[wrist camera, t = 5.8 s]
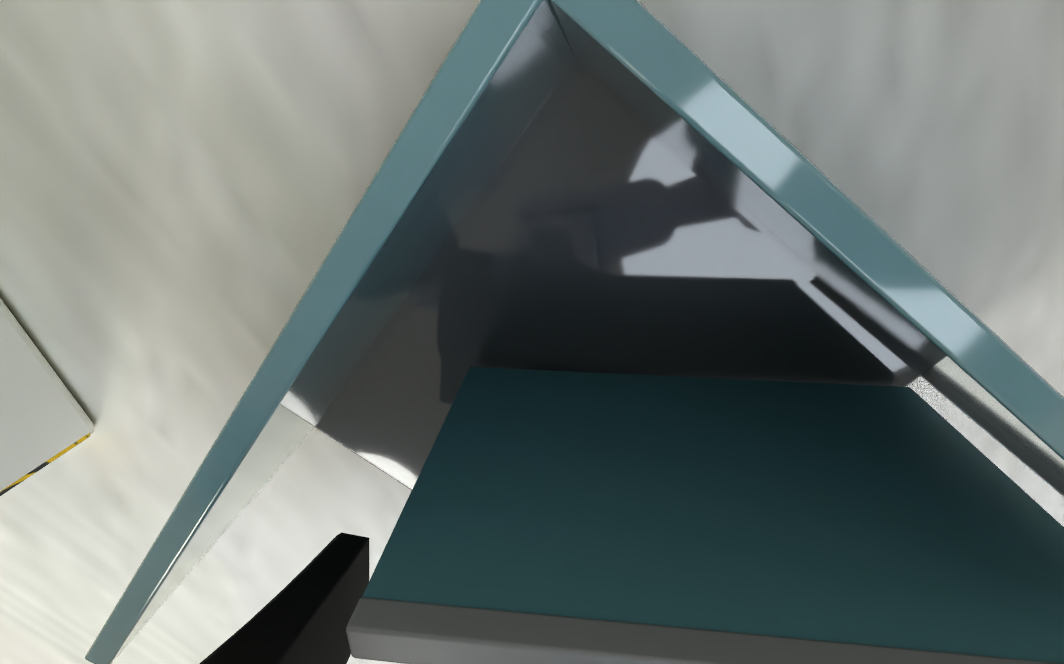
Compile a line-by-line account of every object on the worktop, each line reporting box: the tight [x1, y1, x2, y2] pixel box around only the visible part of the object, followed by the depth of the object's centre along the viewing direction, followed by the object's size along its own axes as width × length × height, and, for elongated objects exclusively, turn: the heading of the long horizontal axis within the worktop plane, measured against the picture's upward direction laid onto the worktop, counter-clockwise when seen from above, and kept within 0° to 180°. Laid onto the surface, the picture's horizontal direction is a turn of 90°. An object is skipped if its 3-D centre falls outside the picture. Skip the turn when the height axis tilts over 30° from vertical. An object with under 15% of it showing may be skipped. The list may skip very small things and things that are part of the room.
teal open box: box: [85, 0, 1064, 664], centre depth 11 cm, size 12×12×8 cm
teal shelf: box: [346, 367, 1064, 664], centre depth 10 cm, size 5×10×7 cm, turn 90°
